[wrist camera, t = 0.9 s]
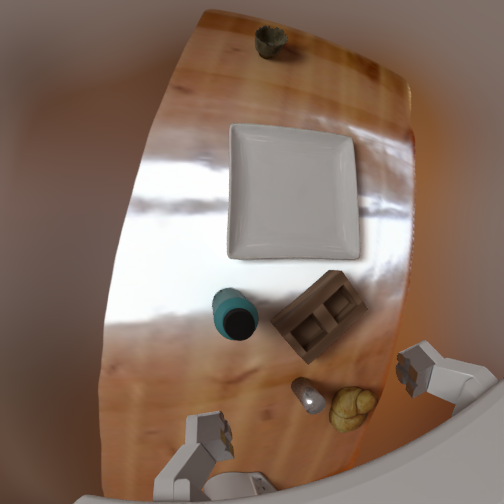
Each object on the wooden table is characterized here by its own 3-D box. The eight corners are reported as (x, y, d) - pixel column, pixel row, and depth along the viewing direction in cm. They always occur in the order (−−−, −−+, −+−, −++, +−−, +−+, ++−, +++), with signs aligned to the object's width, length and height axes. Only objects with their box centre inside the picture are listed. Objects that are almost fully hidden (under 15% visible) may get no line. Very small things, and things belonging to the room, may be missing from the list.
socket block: (353, 305, 58) (368, 309, 52) (298, 355, 56) (308, 364, 50) (328, 269, 57) (341, 270, 51) (269, 321, 55) (276, 327, 49)
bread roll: (350, 427, 57) (365, 442, 49) (316, 427, 56) (329, 445, 48) (367, 383, 58) (385, 395, 50) (333, 381, 57) (349, 395, 49)
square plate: (346, 141, 59) (353, 135, 56) (352, 260, 58) (361, 259, 55) (228, 129, 55) (230, 120, 52) (225, 259, 54) (226, 259, 51)
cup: (282, 49, 58) (289, 30, 50) (277, 68, 57) (285, 48, 49) (254, 42, 57) (259, 22, 49) (247, 60, 56) (252, 39, 48)
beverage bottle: (219, 281, 54) (224, 292, 34) (250, 294, 55) (274, 312, 35) (206, 312, 53) (204, 339, 33) (237, 324, 54) (253, 358, 34)
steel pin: (312, 384, 56) (329, 404, 46) (298, 396, 55) (313, 417, 45) (302, 373, 56) (318, 392, 46) (287, 385, 55) (301, 406, 45)
